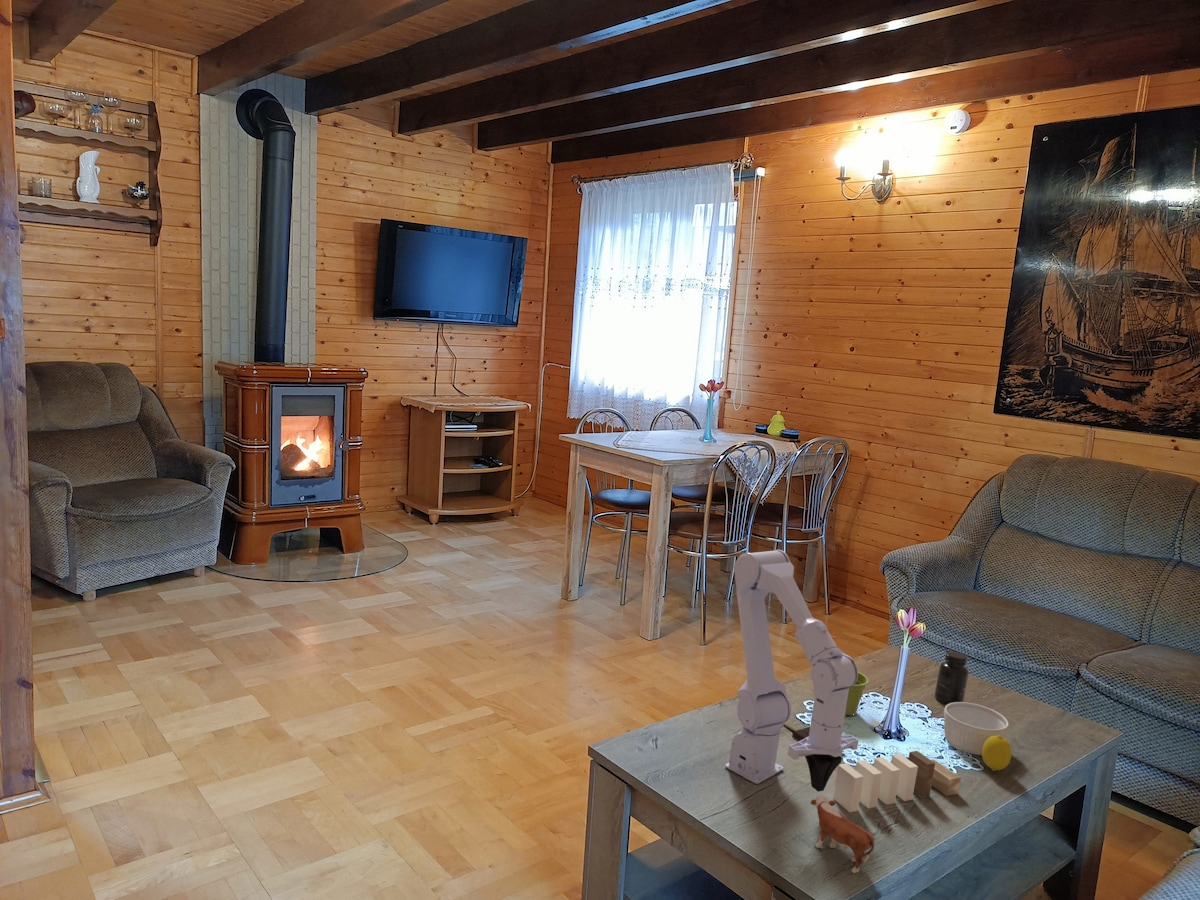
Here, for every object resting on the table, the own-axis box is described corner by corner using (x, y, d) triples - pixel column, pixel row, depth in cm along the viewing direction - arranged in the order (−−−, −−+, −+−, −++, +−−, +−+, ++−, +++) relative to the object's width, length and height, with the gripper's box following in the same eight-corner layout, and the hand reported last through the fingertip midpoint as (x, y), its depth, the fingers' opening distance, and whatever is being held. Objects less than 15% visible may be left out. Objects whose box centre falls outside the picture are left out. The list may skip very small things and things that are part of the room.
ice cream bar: (775, 727, 193) (827, 760, 181) (776, 721, 193) (828, 753, 181) (792, 723, 196) (844, 754, 184) (793, 716, 196) (845, 747, 184)
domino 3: (886, 804, 166) (892, 771, 165) (869, 791, 170) (874, 758, 169) (894, 803, 167) (900, 769, 165) (877, 789, 171) (882, 756, 170)
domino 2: (868, 808, 164) (873, 774, 163) (851, 794, 168) (856, 761, 167) (876, 806, 165) (882, 773, 164) (859, 793, 169) (864, 760, 168)
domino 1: (849, 812, 162) (855, 778, 161) (833, 798, 166) (838, 764, 165) (858, 810, 163) (863, 776, 162) (841, 796, 167) (846, 763, 166)
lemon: (1005, 780, 179) (1012, 745, 178) (977, 771, 182) (983, 736, 180) (1009, 769, 184) (1015, 735, 182) (981, 760, 186) (987, 726, 185)
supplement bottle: (967, 708, 212) (976, 662, 210) (940, 705, 212) (948, 659, 210) (956, 695, 219) (964, 650, 217) (930, 692, 219) (937, 648, 217)
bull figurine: (815, 828, 156) (821, 787, 154) (874, 873, 145) (882, 829, 143) (797, 835, 153) (804, 792, 152) (856, 881, 142) (864, 836, 141)
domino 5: (921, 797, 170) (927, 764, 168) (904, 784, 174) (909, 752, 173) (929, 795, 170) (935, 763, 169) (911, 782, 175) (917, 750, 173)
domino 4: (904, 801, 168) (910, 767, 166) (886, 787, 172) (892, 755, 171) (912, 799, 169) (917, 766, 167) (894, 786, 173) (899, 753, 172)
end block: (946, 795, 171) (949, 779, 170) (920, 777, 177) (923, 761, 177) (958, 793, 172) (960, 777, 172) (931, 774, 178) (934, 759, 178)
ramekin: (942, 751, 189) (947, 721, 188) (936, 724, 202) (941, 696, 201) (1008, 765, 186) (1013, 735, 185) (997, 737, 198) (1003, 708, 197)
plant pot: (815, 710, 203) (821, 675, 201) (830, 697, 211) (835, 664, 209) (855, 724, 198) (860, 689, 196) (868, 710, 205) (873, 676, 204)
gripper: (809, 735, 152) (799, 806, 154) (873, 725, 158) (862, 793, 160) (785, 716, 158) (775, 785, 160) (847, 707, 164) (837, 773, 166)
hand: (817, 788), depth 160 cm, fingers closed
